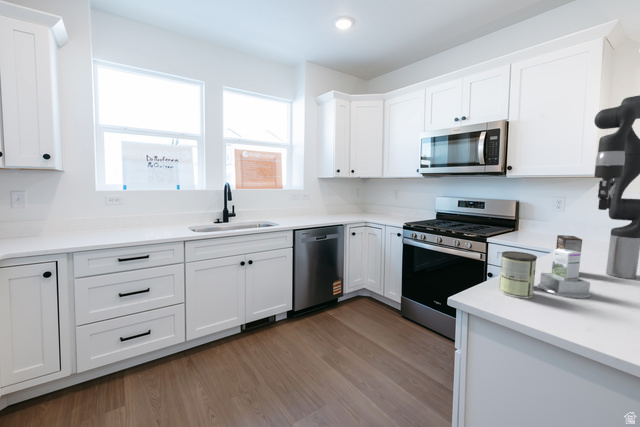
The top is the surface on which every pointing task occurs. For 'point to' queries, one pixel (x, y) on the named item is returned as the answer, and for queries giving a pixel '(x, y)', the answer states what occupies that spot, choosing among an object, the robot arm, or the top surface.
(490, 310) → the top surface
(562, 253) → the syrup box
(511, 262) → the coffee can
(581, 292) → the collar
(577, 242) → the coffee box
